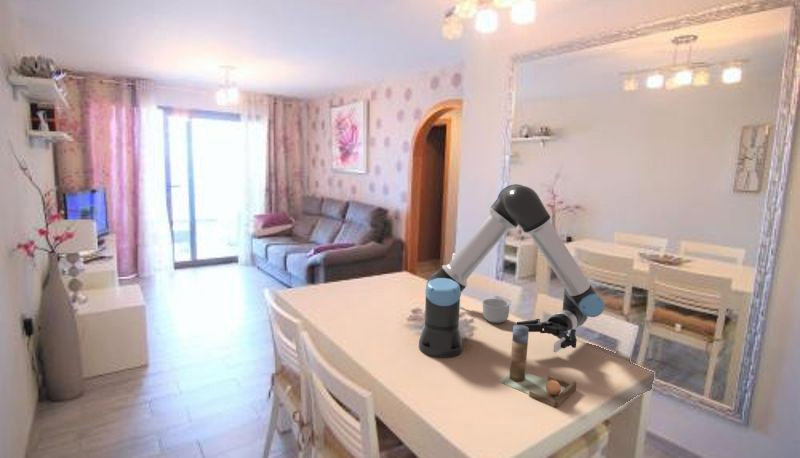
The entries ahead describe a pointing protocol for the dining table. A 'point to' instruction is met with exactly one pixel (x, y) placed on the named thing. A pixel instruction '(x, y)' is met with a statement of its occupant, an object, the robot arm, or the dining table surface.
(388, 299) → the dining table surface
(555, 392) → the ball
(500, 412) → the dining table surface
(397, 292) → the dining table surface
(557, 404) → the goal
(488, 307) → the teacup
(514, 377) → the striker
